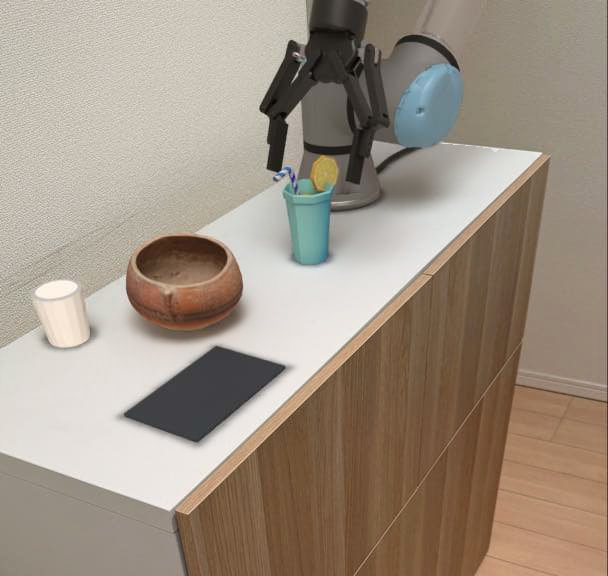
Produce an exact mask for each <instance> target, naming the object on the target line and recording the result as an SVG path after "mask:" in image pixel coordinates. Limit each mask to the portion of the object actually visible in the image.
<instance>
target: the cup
mask: <svg viewBox="0 0 608 576" xmlns="http://www.w3.org/2000/svg"><path fill="white" fill-rule="evenodd" d="M293 169H294V168H292V167H291V166H289V165H286V166H284V167H282V170H281V171H280V172H279V173H276V174H275V175H274V176H273V177H272V181H273V182H274V183H278V182H280V181H281V180H282V179H283V178H284V177H286V176H287V174H288V177H289V180H290V182H288V183H287V184H286V185H285V186H284V188H283V190H282V191H281V193H282V198H283V199H284V200H285V206H286V212H287V218H288V225H289V232H290V239H291V245H292V252H293V260H294V261H295V262H297V263H299V264H300V265H310V266H311V265H313V266H314V265H315V266H316V265H318V264H321V263H325V262H327V261H326V260H327V259H328V257H329V243H330V242H329V240H330V226H331V225H330V224H331V210H330V209H331V196H332V194H333V189H334V186H335V185H336V183H337V178H338V174H339V168H338V165H337V163H336V160H335V158H332V157H328V156H324V155H322V156H321V157H320V158H319V159H318V160H317V161H315V162H314V163H313V167H312V171H311V176H310V179H302V180H298V181H297V177H296V173H295V171H294V170H293Z"/></svg>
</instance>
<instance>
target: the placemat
mask: <svg viewBox="0 0 608 576" xmlns="http://www.w3.org/2000/svg"><path fill="white" fill-rule="evenodd" d="M286 367H287V366H286V365H284V364H280V363H277V362H274V361H270V360H266V359H263V358H259V357H257V356H253V355H250V354H246V353H243V352H239V351H235V350H233V349H229V348H225V347H223V346H222V347H221V346H218V345H215V346H214V347H212V348H211V349H210V350H208V351H207V352H205V353H204V354H203V355H201V356H200V357H199V358H197V359H196V360H194V361H193V362H192V363H190V364H189V365H188V366H186V367H185V368H184V369H183V370H181V371H180V372H178V373H177V374H176V375H174V376H173V377H171V378H170V379H169V380H167V381H166V382H165V383H163V384H162V385H161V386H159V387H158V388H157V389H155V390H153V392H151V393H150V394H148V395H147V396H146V397H144V398H142V399H141V400H140V401H139V402H137V403H136V404H135V405H133V406H132V407H131V408H129V409H128V410H127V411H125V412H124V413H123V417H125V418H128V419H130V420H134V421H136V422H139V423H141V424H144V425H148V426H150V427H152V428H156V429H159V430H161V431H164V432H167V433H170V434H173V435H175V436H178V437H181V438H184V439H186V440H189V441H192V442H195V443H199V442H200V441H201V440H202V439H203V438H205V437H206V436H207V435H209V434H210V433H211V432H212V431H213V430H214V429H215V428H216V427H218V426H219V425H221V423H223V422H224V421H225V420H226V419H228V418H229V417H230V416H231V415H232V414H233V413H235V412H236V411H237V410H238V409H239V408H241V407H242V406H243V405H244V404H245V403H247V402H248V401H249V400H250V399H251V398H252V397H254V396H255V395H256V394H257V393H258V392H259V391H261V390H262V389H263V388H264V387H266V386H267V385H268V384H269V383H271V382H272V381H273V380H274V379H275V378H276V377H278V376H279V375H280V374H281V373H282V372H283V371H285V370H286Z"/></svg>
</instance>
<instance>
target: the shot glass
mask: <svg viewBox="0 0 608 576" xmlns="http://www.w3.org/2000/svg"><path fill="white" fill-rule="evenodd" d="M29 293H30V294H29V295H30V298H31V301H32V304H33V306H34V309H35V311H36V313H37V315H38V318H39V321H40V323H41V325H42V328H43V330H44V332H45V335H46V338H47V340H48V343H49V344H51V345H52V347H55V348H62V349H63V348H67V349H68V348H72V347H76V346H79V345H83V344H84V343H86V342H87V341H88V340H89V338H90V337H91V329H90V323H89V317H88V312H87V306H86V305H87V304H86V299H85V293H84V287H83V283H82V282H81V281H79V280H78V279H74V278H56V279H50V280H47V281H43V282H41V283H39V284H37V285H36V286H34V287H33V288H32V289H31V291H30V292H29Z"/></svg>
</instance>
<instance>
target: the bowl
mask: <svg viewBox="0 0 608 576" xmlns="http://www.w3.org/2000/svg"><path fill="white" fill-rule="evenodd" d="M125 291H126V296H127V299H128V302H129V303H130V306H132V308H133V309H134V310H135V311H136V312H137V313H138V315H140V316H141V318H144V319H145V320H146V321H148V322H150V323H152V324H153V325H156V326H159V327H161V328H164V329H169V330H172V331H198V330H201V329H204V328H206V327H209V326H212V325H214V324H216V323H218V322H220V321H222V320H223V319H225V318H226V317H228V316H229V315H231V313H232V312H233V310H234V309H235V308H236V307H237V305H238V304H239V302H240V300H241V299H242V296H243V292H244V281H243V274H242V272H241V267H240V266H239V263H238V261H237V259H236V257H235V255H234V253H233V251H232V250H230V248H229V247H228V246H227V245H226V244H225V243H224V242H222V241H220V240H217V238H213V237H212V236H208V235H204V234H199V233H195V232H194V233H193V232H173V233H166V234H161V235H158V236H155V237H152V238H151V239H149V240H147V241H145V242H144V243H142V244H141V245H140V246H138V247H137V248H136V249H135V250H134V251H133V253H132V254H131V255H130V258H129V261H128V264H127V268H126V273H125Z"/></svg>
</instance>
